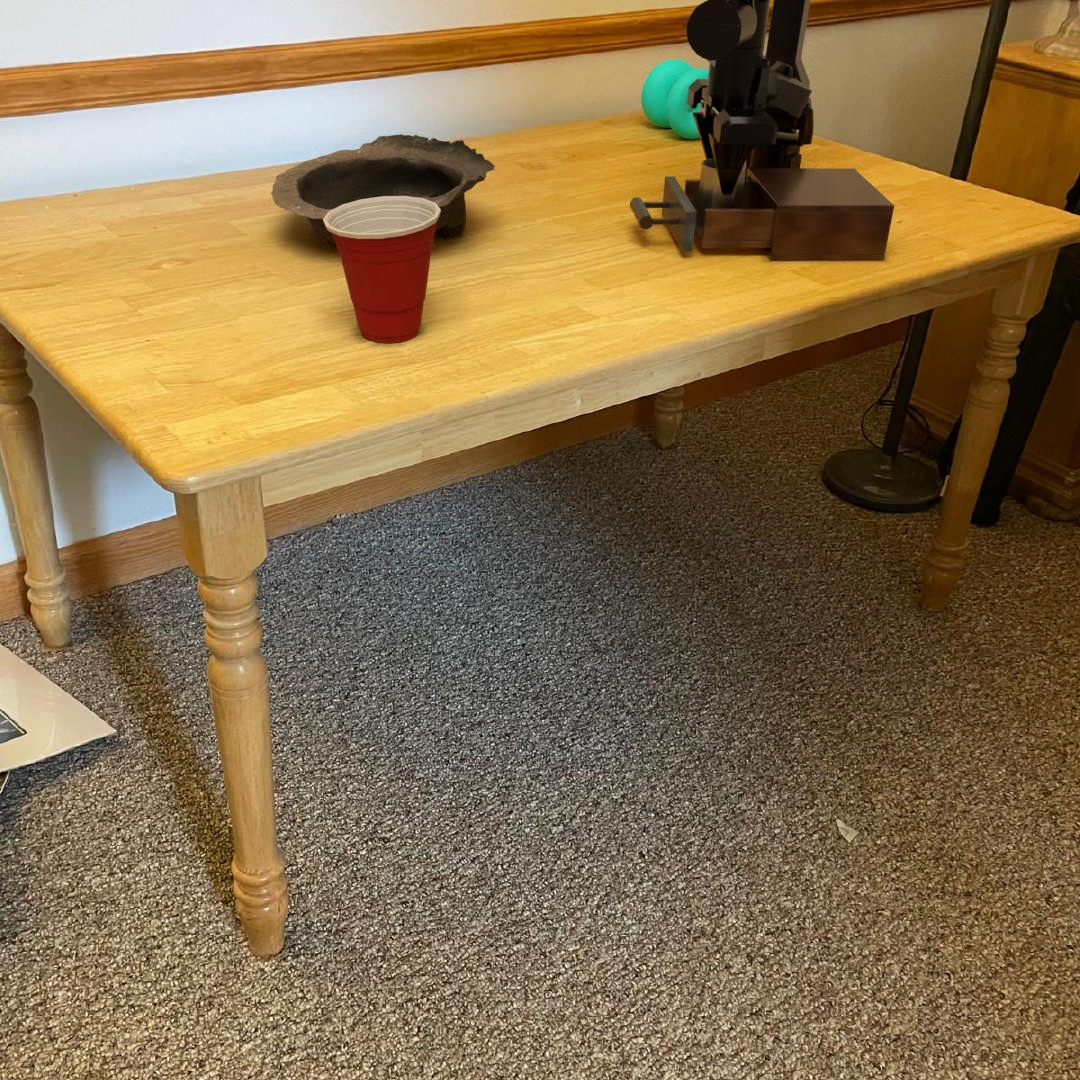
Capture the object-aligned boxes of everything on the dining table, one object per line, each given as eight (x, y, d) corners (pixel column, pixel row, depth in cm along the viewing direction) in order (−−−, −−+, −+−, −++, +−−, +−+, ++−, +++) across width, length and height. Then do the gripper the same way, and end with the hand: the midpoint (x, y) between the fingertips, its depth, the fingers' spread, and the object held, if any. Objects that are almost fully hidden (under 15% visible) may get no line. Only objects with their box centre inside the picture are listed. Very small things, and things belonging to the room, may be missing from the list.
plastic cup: (334, 310, 119) (326, 191, 112) (442, 309, 120) (439, 191, 113) (327, 355, 110) (317, 229, 103) (443, 354, 111) (441, 229, 104)
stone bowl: (523, 218, 143) (524, 142, 138) (422, 302, 125) (418, 218, 120) (350, 184, 152) (343, 111, 146) (231, 258, 134) (219, 178, 128)
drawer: (642, 252, 133) (645, 211, 131) (624, 214, 144) (627, 176, 142) (788, 251, 135) (794, 211, 132) (760, 214, 146) (765, 176, 143)
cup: (687, 223, 139) (693, 163, 135) (713, 214, 142) (720, 155, 138) (721, 233, 136) (728, 172, 132) (747, 224, 139) (754, 164, 135)
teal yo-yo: (670, 144, 175) (676, 73, 169) (635, 128, 182) (640, 59, 177) (725, 137, 179) (733, 68, 173) (689, 122, 186) (695, 55, 181)
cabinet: (770, 260, 135) (778, 205, 131) (740, 219, 147) (747, 167, 143) (883, 260, 136) (894, 205, 132) (845, 219, 148) (854, 168, 144)
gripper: (835, 63, 121) (812, 213, 130) (787, 28, 137) (769, 164, 145) (729, 62, 120) (712, 213, 129) (692, 27, 136) (680, 164, 144)
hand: (721, 187), depth 137 cm, fingers closed on cup, 5 cm apart
